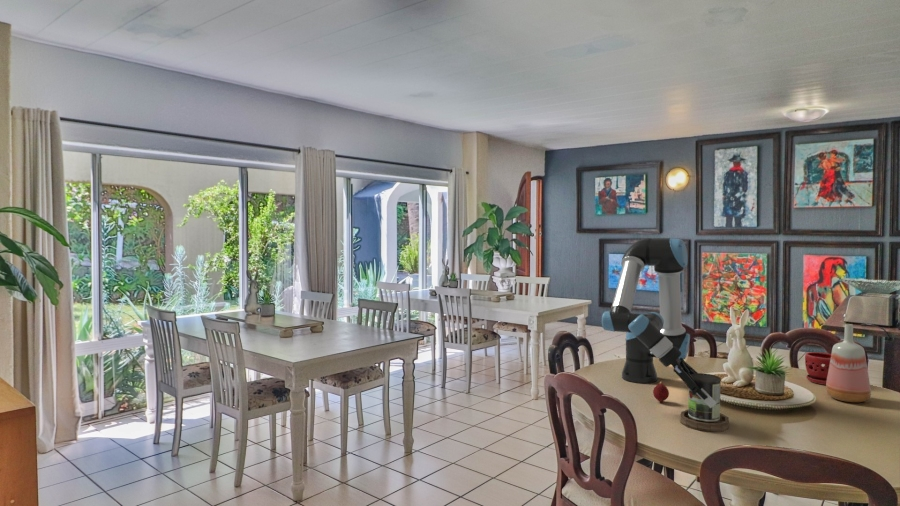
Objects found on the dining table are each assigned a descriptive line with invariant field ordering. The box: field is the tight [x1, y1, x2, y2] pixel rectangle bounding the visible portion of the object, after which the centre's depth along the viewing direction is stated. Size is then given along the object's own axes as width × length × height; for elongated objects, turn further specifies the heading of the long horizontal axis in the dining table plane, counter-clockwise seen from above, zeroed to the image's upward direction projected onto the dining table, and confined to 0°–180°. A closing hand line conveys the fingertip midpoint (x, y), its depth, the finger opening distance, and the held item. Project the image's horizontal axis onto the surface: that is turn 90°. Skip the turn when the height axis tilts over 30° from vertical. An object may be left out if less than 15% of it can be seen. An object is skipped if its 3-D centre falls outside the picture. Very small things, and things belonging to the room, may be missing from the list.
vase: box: [825, 323, 872, 404], centre depth 219 cm, size 14×14×30 cm
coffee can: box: [687, 372, 722, 422], centre depth 195 cm, size 10×10×14 cm
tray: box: [680, 408, 730, 433], centre depth 196 cm, size 15×15×3 cm
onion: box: [652, 381, 670, 403], centre depth 219 cm, size 6×6×8 cm
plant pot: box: [804, 351, 831, 386], centre depth 243 cm, size 13×13×12 cm
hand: (713, 400), depth 194 cm, fingers closed on coffee can, 10 cm apart
